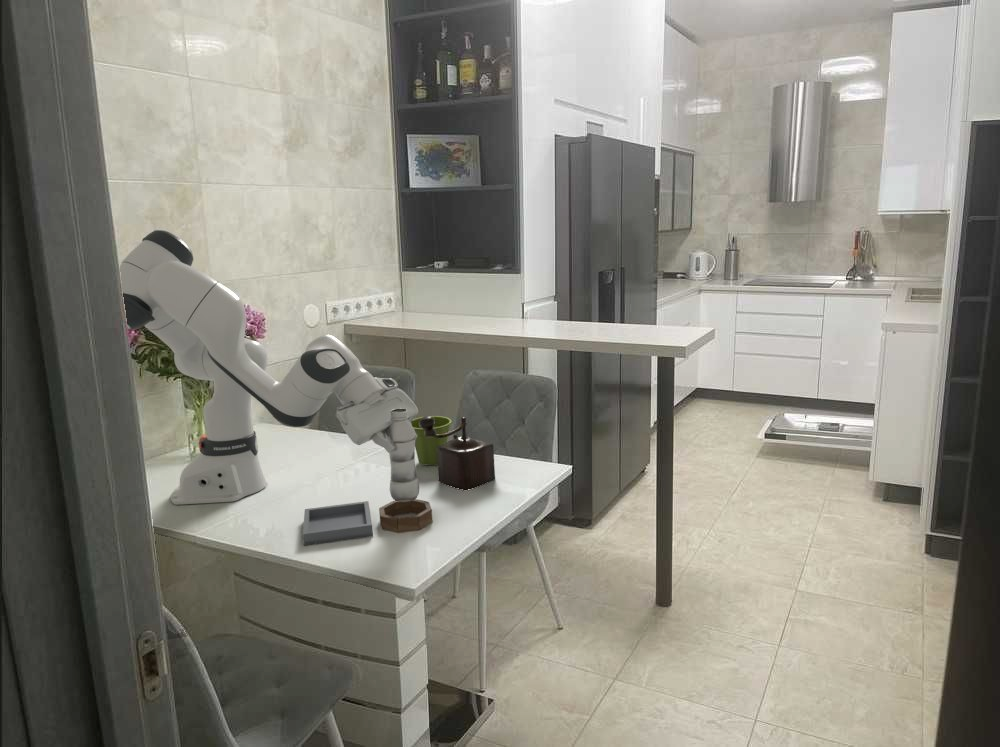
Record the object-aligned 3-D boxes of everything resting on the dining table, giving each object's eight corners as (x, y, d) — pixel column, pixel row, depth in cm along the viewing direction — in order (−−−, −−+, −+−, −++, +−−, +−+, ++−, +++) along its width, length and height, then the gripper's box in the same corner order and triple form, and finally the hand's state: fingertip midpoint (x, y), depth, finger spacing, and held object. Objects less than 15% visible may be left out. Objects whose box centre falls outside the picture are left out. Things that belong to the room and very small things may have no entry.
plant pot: (401, 464, 200) (397, 424, 198) (430, 452, 209) (428, 414, 207) (433, 472, 193) (430, 430, 191) (462, 459, 202) (460, 419, 200)
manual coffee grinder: (466, 470, 193) (462, 403, 189) (496, 479, 185) (492, 409, 182) (420, 487, 182) (414, 417, 179) (450, 498, 175) (445, 424, 171)
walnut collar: (382, 535, 156) (381, 521, 155) (379, 515, 166) (378, 502, 166) (434, 528, 158) (433, 514, 157) (427, 509, 168) (427, 496, 168)
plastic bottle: (392, 507, 157) (385, 416, 153) (389, 496, 164) (382, 408, 160) (422, 503, 159) (416, 412, 155) (418, 492, 165) (412, 405, 161)
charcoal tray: (304, 546, 152) (302, 534, 152) (305, 520, 166) (304, 509, 165) (373, 536, 155) (372, 524, 155) (369, 511, 169) (368, 501, 168)
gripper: (338, 399, 151) (381, 450, 148) (398, 377, 168) (437, 422, 166) (324, 418, 154) (365, 469, 151) (384, 395, 171) (422, 440, 169)
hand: (403, 444), depth 159 cm, fingers closed on plastic bottle, 6 cm apart
